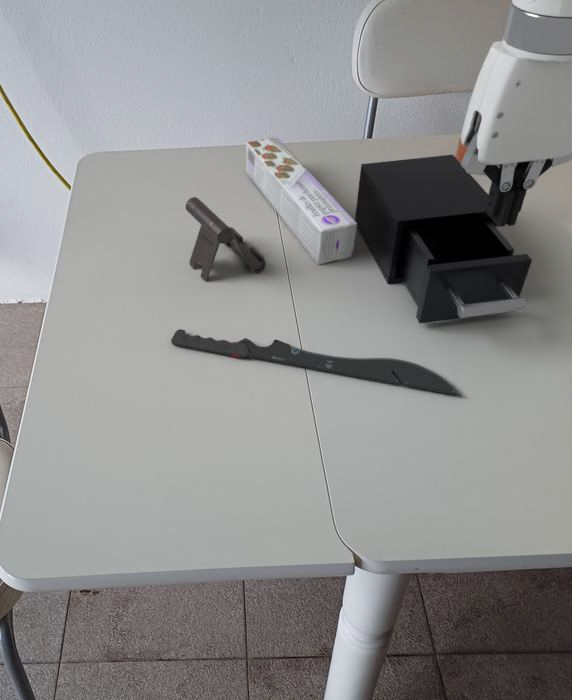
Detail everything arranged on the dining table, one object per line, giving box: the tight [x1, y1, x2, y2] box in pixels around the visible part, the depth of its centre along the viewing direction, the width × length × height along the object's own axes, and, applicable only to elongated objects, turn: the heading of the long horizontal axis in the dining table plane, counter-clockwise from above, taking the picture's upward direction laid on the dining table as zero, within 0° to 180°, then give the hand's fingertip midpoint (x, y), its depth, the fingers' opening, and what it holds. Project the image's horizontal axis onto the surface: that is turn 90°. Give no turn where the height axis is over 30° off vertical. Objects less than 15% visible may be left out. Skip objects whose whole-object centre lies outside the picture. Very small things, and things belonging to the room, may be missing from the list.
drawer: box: [396, 217, 533, 324], centre depth 75 cm, size 18×11×7 cm, turn 8°
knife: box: [170, 328, 462, 396], centre depth 71 cm, size 32×4×1 cm, turn 72°
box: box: [245, 136, 358, 265], centre depth 93 cm, size 27×5×6 cm, turn 19°
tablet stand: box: [185, 196, 266, 282], centre depth 83 cm, size 9×8×8 cm
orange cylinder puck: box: [455, 137, 468, 163], centre depth 103 cm, size 6×6×3 cm
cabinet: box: [354, 154, 498, 285], centre depth 84 cm, size 15×13×9 cm
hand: (499, 218), depth 66 cm, fingers closed
